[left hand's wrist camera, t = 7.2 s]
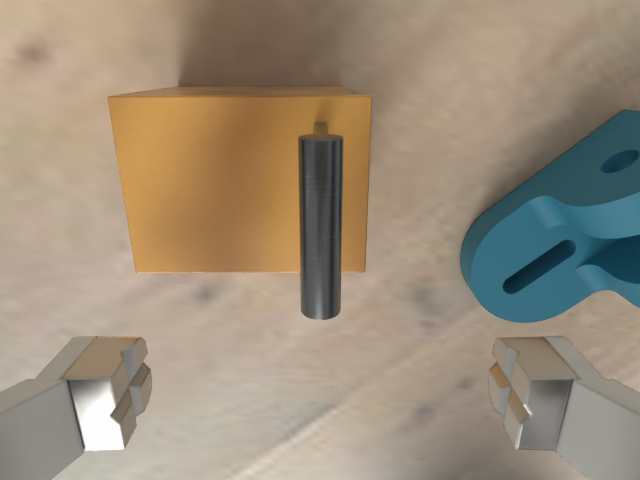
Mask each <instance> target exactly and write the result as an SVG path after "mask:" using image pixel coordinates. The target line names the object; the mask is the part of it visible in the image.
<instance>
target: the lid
mask: <svg viewBox="0 0 640 480" xmlns="http://www.w3.org/2000/svg"><path fill="white" fill-rule="evenodd" d="M108 103H109V109H110V116H111V122H112V128H113V134H114V140H115V147H116V153H117V159H118V165H119V171H120V177H121V184H122V190H123V196H124V202H125V208H126V214H127V221H128V227H129V233H130V239H131V245H132V251H133V258H134V264H135V270H136V273H300V277H301V311H302V313H303V314H304V315H305V316H306V317H308V318H311V319H315V320H326V319H331V318H333V317H335V316H337V315H338V314H339V313H340V309H341V273H364V272H365V266H366V240H367V215H368V190H369V164H370V139H371V113H372V96H370V95H113V96H108Z"/></svg>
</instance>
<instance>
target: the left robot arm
mask: <svg viewBox="0 0 640 480" xmlns="http://www.w3.org/2000/svg"><path fill="white" fill-rule="evenodd" d="M147 354H148V351H147V346H146V341H145V340H144V339H143V338H142V337H108V336H100V337H98V336H78V337H74V338H72V339H71V340H70V341H69V343H68V344H67V345H66V346H65V347H64V348H63V349H62V350H61V351H60V352H59V353H58V354H57V356H56V357H55V358H54V359H53V360H52V361H51V362H50V363H49V364H48V365H47V366H46V367H45V368H44V370H43V371H42V372H41V373H40V374H39V375H38V376H37V377H36V378H35V379H27V380H25V381H23V382H21V383H19V384H17V385H15V386H12V387H10V388H8V389H6V390H4V391H2V392H0V480H51V479H52V478H54V477H55V476H56V475H57V474H59V473H60V472H61V471H62V470H63V469H65V468H66V467H67V466H68V465H70V464H71V463H72V462H73V461H75V460H76V459H77V458H78V457H79V456H81V455H82V454H83V453H84V450H118V449H125V448H126V446H127V444H128V442H129V440H130V438H131V436H132V434H133V432H134V430H135V428H136V426H137V424H136V419H135V417H136V416H138V415H139V414H141V413H142V412H144V411H145V409H146V407H147V404H148V402H149V399H150V395H151V390H152V376H151V369H150V368H149V367H148V366H147V365H146V364H145V363H144V362H143V361H144V359H145V357H146V356H147ZM492 354H493V356H494V357H495V359H496V361H497V362H496V363H495V364H494V365H493V366H492V367H491V368H490V369H489V377H488V388H489V396H490V399H491V402H492V405H493V407H494V409H495V411H496V412H498V413H499V414H501V415H502V416H504V417H505V418H504V424H503V426H504V428H505V430H506V432H507V434H508V436H509V438H510V440H511V442H512V444H513V446H514V447H515V449H520V450H556V453H557V454H558V455H560V456H561V457H562V458H563V459H564V460H566V461H567V462H568V463H569V464H571V465H572V466H573V467H574V468H575V469H577V470H578V471H579V472H580V473H582V474H583V475H584V476H585V477H586V478H588V479H589V480H640V392H638V391H636V390H634V389H632V388H630V387H628V386H625V385H623V384H621V383H619V382H617V381H615V380H613V379H605V378H604V377H603V376H602V375H601V374H600V373H599V372H598V371H597V370H596V368H595V367H594V366H593V365H592V364H591V363H590V362H589V361H588V360H587V359H586V358H585V357H584V356H583V354H582V353H581V352H580V351H579V350H578V349H577V348H576V347H575V346H574V345H573V344H572V343H571V341H570V340H569V339H568V338H566V337H563V336H545V337H514V338H496V340H495V342H494V345H493V351H492Z"/></svg>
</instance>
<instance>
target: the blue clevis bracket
mask: <svg viewBox="0 0 640 480" xmlns="http://www.w3.org/2000/svg"><path fill="white" fill-rule="evenodd" d="M460 262H461V270H462V274H463V277H464V279H465V281H466V283H467V285H468V286H469V288H470V289H471V290H472V292H473V293H474V295H475V296H476V298H477V299H478V301H479V302H480V304H481V305H482V306H483V307H484V308H485V309H486V310H488V311H489V312H490V313H492V314H493V315H495V316H497V317H499V318H502V319H505V320H508V321H513V322H522V323H527V322H537V321H542V320H546V319H549V318H552V317H554V316H557V315H559V314H561V313H563V312H565V311H566V310H568V309H569V308H571V307H573V306H574V305H576V304H577V303H579V302H580V301H582V300H583V299H585V298H587V297H588V296H590V295H591V294H593V293H595V292H598V291H602V290H612V291H615V292H617V293H618V294H620V295H621V296H622V297H624V298H625V299H626V300H628V301H629V302H630V303H632V304H633V305H635V306H637V307H639V308H640V112H639V111H632V110H625V109H624V110H623V111H622V112H620V113H619V114H618V115H616V116H615V117H613V118H612V119H611V120H609V121H608V122H607V123H605V124H604V125H603V126H601V127H600V128H598V129H597V130H596V131H594V132H593V133H592V134H590V135H589V136H588V137H586V138H585V139H583V140H582V141H581V142H579V143H578V144H577V145H575V146H574V147H573V148H571V149H570V150H569V151H567V152H566V153H564V154H563V155H562V156H560V157H559V158H558V159H556V160H555V161H554V162H552V163H551V164H549V165H548V166H547V167H545V168H544V169H543V170H541V171H540V172H539V173H537V174H536V175H534V176H533V177H532V178H530V179H529V180H528V181H526V182H525V183H524V184H522V185H521V186H520V187H518V188H517V189H515V190H514V191H513V192H511V193H510V194H509V195H507V196H506V197H505V198H503V199H502V200H500V201H499V202H498V203H496V204H495V205H494V206H492V207H491V208H490V209H488V210H487V211H486V212H484V213H483V214H482V215H481V216H480V217H479V218H478V219H477V220H476V221H475V223H474V224H473V225H472V227H471V228H470V230H469V231H468V233H467V235H466V237H465V239H464V242H463V245H462V249H461V257H460Z"/></svg>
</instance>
